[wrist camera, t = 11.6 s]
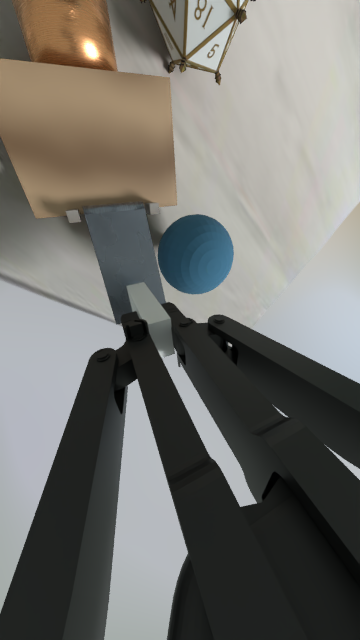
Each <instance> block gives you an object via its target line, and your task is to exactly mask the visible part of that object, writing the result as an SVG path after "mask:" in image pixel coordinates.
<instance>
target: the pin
mask: <svg viewBox="0 0 360 640" xmlns="http://www.w3.org/2000/svg"><path fill="white" fill-rule="evenodd" d="M12 2H13V5H14V8H15V12H16V15H17V18H18V21H19V24H20V27H21V31H22V34H23V37H24V40H25V43H26V47H27V50H28V53H29V56H30V59H31V62H37V63H46V64H55V65H63V66H72V67H81V68H90V69H99V70H107V71H116V72H118V71H117V65H116V58H115V52H114V46H113V39H112V33H111V27H110V20H109V14H108V8H107V3H106V0H12Z"/></svg>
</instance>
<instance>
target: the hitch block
mask: <svg viewBox="0 0 360 640" xmlns="http://www.w3.org/2000/svg"><path fill="white" fill-rule="evenodd" d="M0 137H1V139H2V141H3V144H4V146H5V148H6V150H7V153H8V155H9V157H10V160H11V162H12V164H13V167H14V169H15V171H16V174H17V176H18V178H19V180H20V183H21V185H22V187H23V190H24V192H25V194H26V197H27V199H28V201H29V204H30V206H31V208H32V210H33V213H34V215H35V217H36V219H37V218H48V217H58V216H67V217H68V220H69V223H75V222H81V217H80V214H84V211H83V208H82V206H88V205H100V204H112V203H124V202H137V201H142V202H143V204H144V208H145V211H146V213H147V214H160V211H159V207H164V206H175V205H177V192H176V175H175V158H174V141H173V124H172V107H171V90H170V78H169V77H160V76H151V75H143V74H134V73H125V72H116V71H107V70H99V69H90V68H81V67H72V66H63V65H55V64H46V63H37V62H28V61H19V60H11V59H2V58H0Z"/></svg>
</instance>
